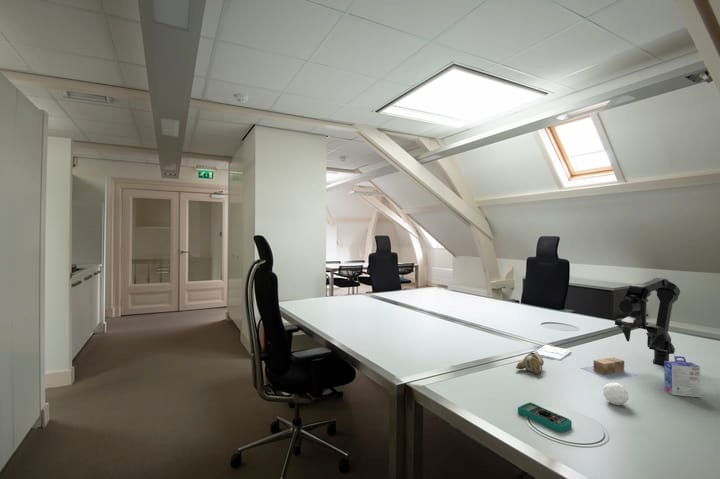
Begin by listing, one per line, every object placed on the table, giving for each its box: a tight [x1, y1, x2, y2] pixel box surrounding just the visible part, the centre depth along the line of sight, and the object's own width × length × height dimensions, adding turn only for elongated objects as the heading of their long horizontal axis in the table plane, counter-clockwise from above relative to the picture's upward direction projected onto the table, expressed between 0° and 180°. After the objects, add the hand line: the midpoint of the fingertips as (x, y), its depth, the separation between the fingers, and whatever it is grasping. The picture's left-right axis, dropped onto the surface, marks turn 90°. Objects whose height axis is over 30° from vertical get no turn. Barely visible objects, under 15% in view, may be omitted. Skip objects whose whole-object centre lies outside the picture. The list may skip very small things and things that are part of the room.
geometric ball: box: [602, 382, 630, 406], centre depth 131 cm, size 8×8×8 cm
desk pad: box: [580, 365, 638, 381], centre depth 162 cm, size 18×14×1 cm
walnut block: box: [593, 357, 625, 375], centre depth 162 cm, size 5×5×13 cm
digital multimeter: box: [517, 402, 572, 434], centre depth 118 cm, size 8×15×3 cm, turn 32°
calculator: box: [533, 344, 572, 361], centre depth 188 cm, size 13×20×2 cm, turn 134°
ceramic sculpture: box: [515, 351, 544, 375], centre depth 163 cm, size 11×9×15 cm
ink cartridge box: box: [663, 355, 701, 398], centre depth 140 cm, size 10×6×14 cm, turn 78°
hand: (638, 344), depth 166 cm, fingers open, 9 cm apart
